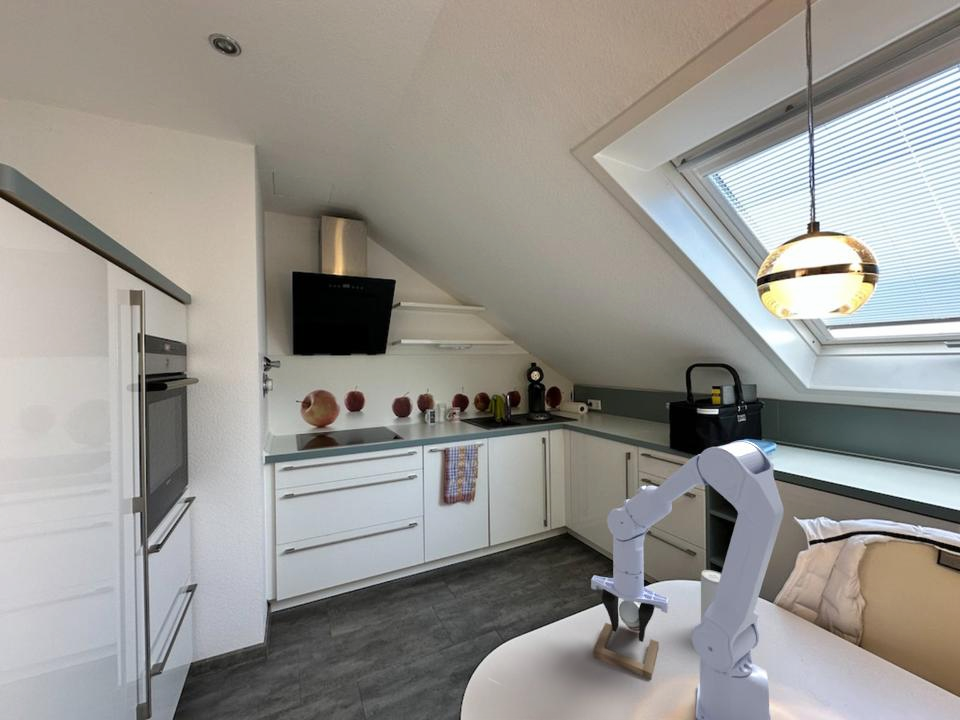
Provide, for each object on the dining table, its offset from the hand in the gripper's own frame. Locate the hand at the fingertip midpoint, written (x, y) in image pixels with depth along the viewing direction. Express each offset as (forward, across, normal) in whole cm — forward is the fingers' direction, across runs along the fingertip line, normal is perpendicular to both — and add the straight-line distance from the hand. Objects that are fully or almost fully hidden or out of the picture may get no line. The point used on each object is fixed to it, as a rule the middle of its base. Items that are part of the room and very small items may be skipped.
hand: (628, 633), depth 77 cm
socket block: (+3, 0, +1) cm, 3 cm away
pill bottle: (+1, 0, -7) cm, 7 cm away
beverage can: (+3, -14, -15) cm, 21 cm away
